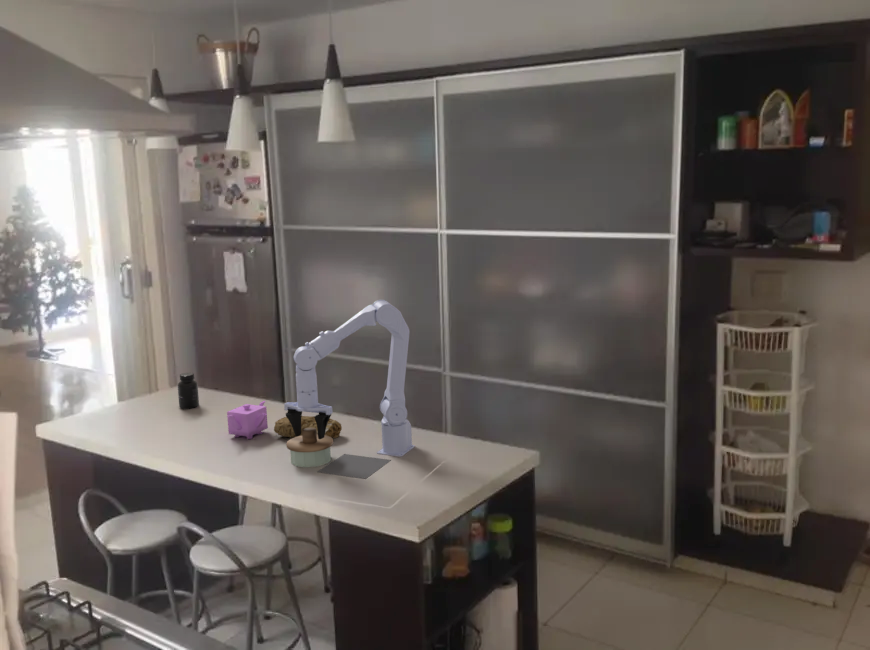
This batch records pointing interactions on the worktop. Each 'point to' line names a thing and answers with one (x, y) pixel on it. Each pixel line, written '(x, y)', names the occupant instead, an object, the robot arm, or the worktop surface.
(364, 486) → the worktop surface
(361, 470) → the mat
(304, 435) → the lid
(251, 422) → the teapot
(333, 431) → the sponge
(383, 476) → the worktop surface
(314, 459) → the bowl
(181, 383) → the supplement bottle
